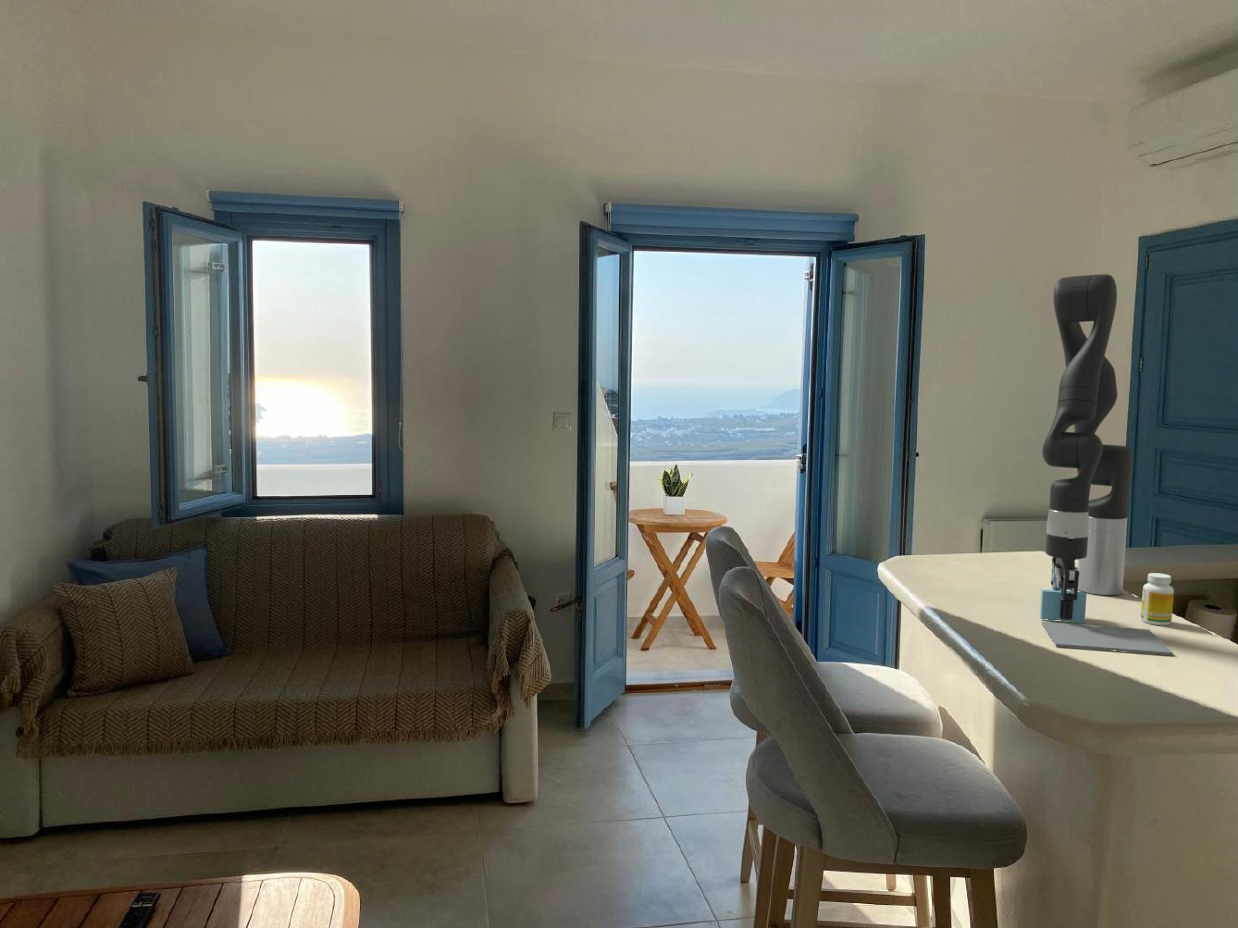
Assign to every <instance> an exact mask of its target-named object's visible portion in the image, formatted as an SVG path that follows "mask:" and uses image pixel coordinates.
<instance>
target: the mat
mask: <svg viewBox="0 0 1238 928" xmlns="http://www.w3.org/2000/svg"><path fill="white" fill-rule="evenodd" d="M1042 625H1043V626H1042ZM1041 626H1042V627H1043V629H1044V628H1045V629H1044V630H1045V632H1046V631H1047V632H1046V633H1048V634H1047V635H1048V636H1050V637H1049V639H1052V640H1051V642H1052V643H1053V642H1054V643H1055V644H1054V643H1053V644H1054V646H1055V645H1056V646H1060V647H1059V648H1064V647H1070V648H1069V649H1077V648H1078V649H1079V648H1080V650H1089V651H1090V650H1091V649H1092V650H1093V651H1103V650H1116V651H1124V652H1123V653H1128V652H1134V653H1133V654H1141V653H1146V654H1145V655H1154V654H1162V655H1161V656H1167V655H1173V656H1174V652H1173V651H1172V650H1171V649H1170V648H1169V647H1168V646H1167V645H1166V644H1164V642H1163V641H1161V640H1160V638H1158V637H1157V636H1156V635H1155V634H1154V633H1153V631H1151V630H1150V629H1146V628H1133V627H1122V626H1121V627H1119V626H1105V625H1093V624H1092V625H1091V624H1082V623H1068V622H1054V621H1041ZM1056 646H1055V647H1056ZM1061 646H1062V647H1061ZM1078 649H1077V650H1078ZM1092 650H1091V651H1092ZM1125 651H1126V652H1125Z"/></svg>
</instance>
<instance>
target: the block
mask: <svg viewBox="0 0 1238 928" xmlns="http://www.w3.org/2000/svg"><path fill="white" fill-rule="evenodd" d="M1040 593H1041V594H1040V605H1039V606H1040V607H1039V609H1040V610H1039V619H1040V620H1041V619H1048V620H1061V621H1069V622H1068V623H1074V622H1077V623H1076V624H1085V623H1086V610H1087V609H1086V608H1087V592H1083V591H1078V593H1077V596H1078V598H1077V600H1075V601H1073V616H1072V619H1071V620H1065V619H1061V618H1060V600H1061V599H1060V590H1053V589H1043V588H1042V589H1041V592H1040ZM1067 593H1068V594H1071V591H1070V590H1067Z"/></svg>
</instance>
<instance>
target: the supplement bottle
mask: <svg viewBox="0 0 1238 928" xmlns="http://www.w3.org/2000/svg"><path fill="white" fill-rule="evenodd" d="M1171 583H1172V576H1171V575H1169V574H1166V573H1160V572H1159V573H1158V572H1156V573H1155V572H1150V573H1148V575H1147V583H1145V584H1144V585H1143V587H1142V596H1141V610H1140V620H1141V622H1143V623H1145V624H1150V625H1155V626H1170V625H1171V624H1172V621H1173V620H1172V619H1173V618H1172V617H1173V607H1174V596H1175V590H1174V588H1173V586H1172V585H1170V584H1171Z"/></svg>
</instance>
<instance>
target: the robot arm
mask: <svg viewBox="0 0 1238 928" xmlns="http://www.w3.org/2000/svg"><path fill="white" fill-rule="evenodd" d="M1117 301H1118V290H1117V284H1116V281H1115V279H1114V277H1113V276H1112V275H1111V274H1107V273H1106V274H1104V273H1103V274H1102V273H1101V274H1099V273H1098V274H1086V275H1075V276H1074V275H1073V276H1065V277H1061V278H1059V279H1058V280H1057V281H1056V283H1055V284H1054V289H1053V307H1054V313H1055V317H1056V321H1057V327H1058V331H1059V334H1060V340H1061V343H1062V348H1063V354H1064V362H1065V368H1064V371H1063V372H1062V375H1061V378H1060V381H1059V386H1058V387H1059V388H1058V395H1057V405H1056V412H1055V416H1054V418H1053V422H1052V423H1051V426H1050V429H1049V431H1048V433H1047V435H1046V437H1045V440H1044V442H1043V445H1042V450H1041V451H1042V453H1041V454H1042V458H1043V460H1044V462H1045V464H1047V466H1049V467H1054V468H1065V469H1066V468H1068V469H1076V473H1077V475H1076V476H1074V477H1070V478H1062V479H1056V480H1054V481H1053V482H1052V483H1051V485H1050V492H1049V507H1048V508H1049V510H1048V515H1047V521H1046V535H1045V536H1046V537H1045V554H1046V555H1047V556H1049V557H1052V558H1051V580H1050V584H1051V586H1052V588H1051V590H1060V599H1061V600H1060V618H1061V619H1065V620H1071V619H1072V616H1073V601H1075V600H1077V598H1078V596H1077V593H1078V592H1085V593H1086V594H1087V593H1088V594H1093V595H1100V596H1101V595H1102V596H1119V595H1121V594H1123V586H1124V574H1125V573H1124V572H1125V561H1126V545H1127V533H1128V531H1127V527H1128V516H1129V514H1128V513H1129V512H1128V511H1129V503H1130V496H1131V495H1130V493H1131V492H1130V491H1131V482H1132V477H1133V468H1134V454H1133V451H1132V449H1131V448H1130V446H1127V445H1116V444H1103V441H1102V440H1101V438H1100V437H1099V436H1098V435H1097V434H1096V432H1097V430H1098V429H1099V427H1100V425H1101V424H1102V423H1103V421H1104V420H1105V419H1106V418H1107V416H1108V415H1109V414H1110V412H1111V411H1112V409H1113V408H1114V406H1115V405H1116V403H1117V399H1118V388H1117V379H1116V378H1117V377H1116V372H1115V368H1114V366H1113V365H1112V363H1111V362H1110V361H1109V359H1108V358H1107V357H1106V356H1105V355H1106V352H1107V347H1108V345H1109V338H1110V336H1111V330H1112V326H1113V322H1114V319H1115V315H1116V314H1115V313H1116V309H1117ZM1080 322H1081V323H1083V322H1084V323H1085V322H1093V323H1092V328H1091V331H1090V333H1089V336H1088V337H1087V335H1086V334H1085V333H1084V330H1083V327H1082V326H1081V323H1080ZM1072 426H1073V427H1074V429H1073V430H1074V432H1072V431H1071V432H1069V431H1067V430H1068V429H1069V428H1070V427H1072ZM1092 485H1093V486H1104V487H1111V490H1110V492H1109V493H1107V494H1106V495H1104V496H1101V497H1098V498H1093V499H1090V494H1091V493H1090V492H1091V487H1092ZM1076 560H1078V566H1077V567H1076V563H1075V562H1076ZM1067 591H1071V594H1068V593H1067Z"/></svg>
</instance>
